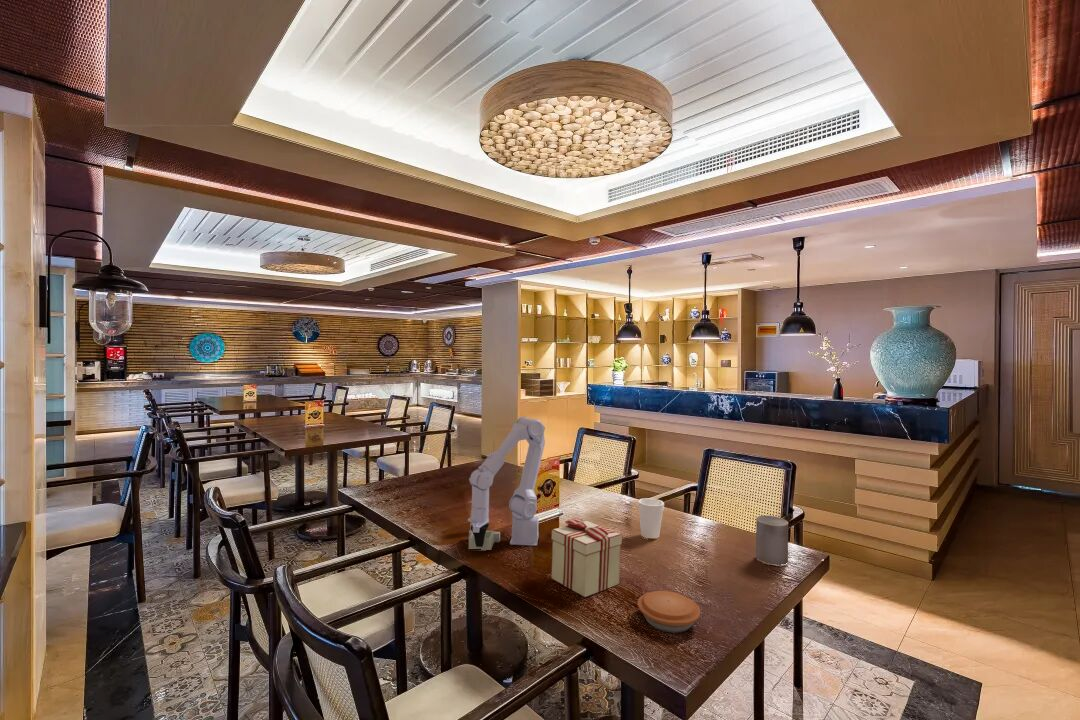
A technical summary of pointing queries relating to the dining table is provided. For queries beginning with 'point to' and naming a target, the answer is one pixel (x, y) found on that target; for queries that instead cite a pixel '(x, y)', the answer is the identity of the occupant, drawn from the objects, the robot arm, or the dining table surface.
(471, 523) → the dowel
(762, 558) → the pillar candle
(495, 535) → the rail
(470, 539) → the socket block
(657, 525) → the foam cup
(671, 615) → the pie
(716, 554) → the dining table surface
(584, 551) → the gift box
